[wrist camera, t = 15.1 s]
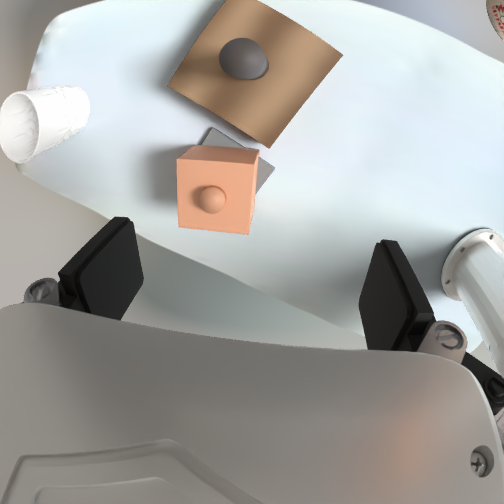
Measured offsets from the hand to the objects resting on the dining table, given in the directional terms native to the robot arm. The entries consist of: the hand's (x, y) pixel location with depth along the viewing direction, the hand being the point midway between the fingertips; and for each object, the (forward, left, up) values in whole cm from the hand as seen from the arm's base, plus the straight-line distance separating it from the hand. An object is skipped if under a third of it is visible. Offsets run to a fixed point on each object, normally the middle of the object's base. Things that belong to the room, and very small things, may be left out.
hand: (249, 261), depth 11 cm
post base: (+6, -6, -23) cm, 24 cm away
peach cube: (+2, +6, -22) cm, 23 cm away
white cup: (+24, +9, -23) cm, 34 cm away
